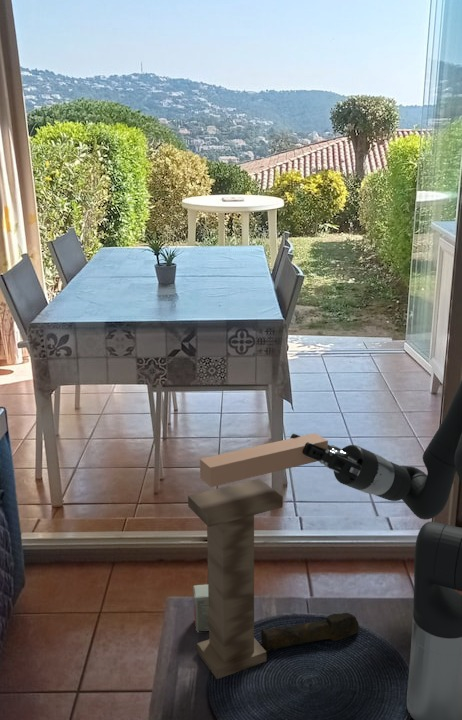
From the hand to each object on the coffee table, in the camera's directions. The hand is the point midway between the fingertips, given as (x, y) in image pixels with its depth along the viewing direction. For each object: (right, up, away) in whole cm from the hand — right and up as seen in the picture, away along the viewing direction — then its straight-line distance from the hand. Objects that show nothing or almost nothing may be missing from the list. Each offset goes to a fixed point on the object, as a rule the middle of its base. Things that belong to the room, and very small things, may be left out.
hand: (298, 443), depth 128 cm
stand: (-12, -39, +5) cm, 41 cm away
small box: (-16, -37, +14) cm, 43 cm away
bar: (-6, -4, -2) cm, 7 cm away
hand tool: (+3, -38, +10) cm, 40 cm away
